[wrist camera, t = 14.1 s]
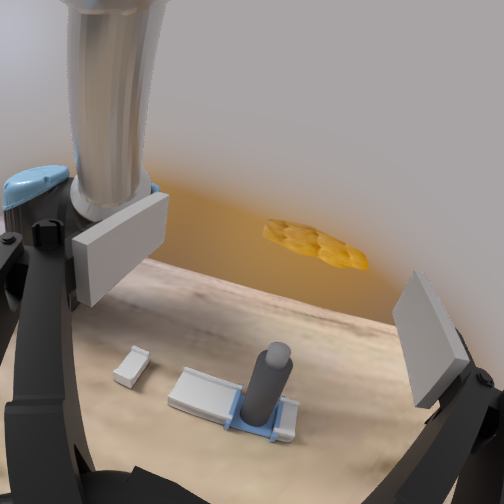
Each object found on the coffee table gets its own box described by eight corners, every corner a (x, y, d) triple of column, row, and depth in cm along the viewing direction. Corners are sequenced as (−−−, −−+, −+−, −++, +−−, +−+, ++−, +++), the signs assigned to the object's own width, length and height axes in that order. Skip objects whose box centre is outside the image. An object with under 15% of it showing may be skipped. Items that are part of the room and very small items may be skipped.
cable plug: (236, 422, 35) (258, 357, 30) (243, 400, 39) (264, 333, 33) (266, 429, 35) (296, 367, 29) (271, 407, 38) (299, 342, 33)
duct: (111, 383, 36) (110, 374, 35) (135, 351, 42) (135, 342, 41) (289, 446, 33) (294, 439, 32) (295, 406, 40) (300, 398, 39)
